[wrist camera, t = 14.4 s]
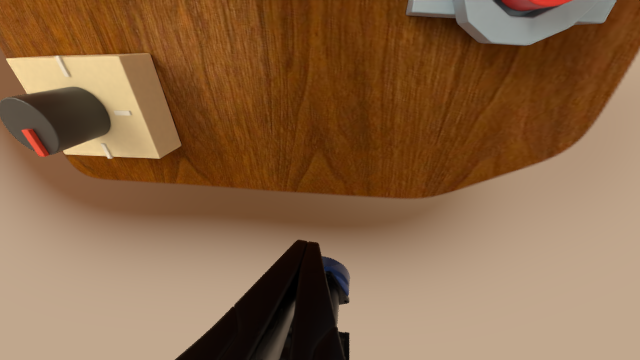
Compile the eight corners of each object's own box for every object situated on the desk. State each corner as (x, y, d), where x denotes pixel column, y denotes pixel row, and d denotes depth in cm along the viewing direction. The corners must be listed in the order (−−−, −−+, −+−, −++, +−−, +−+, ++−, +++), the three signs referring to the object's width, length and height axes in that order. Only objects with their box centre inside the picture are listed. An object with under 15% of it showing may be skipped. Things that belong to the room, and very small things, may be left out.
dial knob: (52, 86, 19) (-23, 98, 15) (95, 86, 18) (28, 98, 15) (79, 135, 21) (19, 156, 17) (119, 136, 20) (65, 158, 17)
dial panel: (150, 51, 19) (115, 54, 17) (182, 146, 23) (159, 160, 21) (48, 54, 21) (1, 57, 18) (95, 143, 25) (63, 156, 22)
